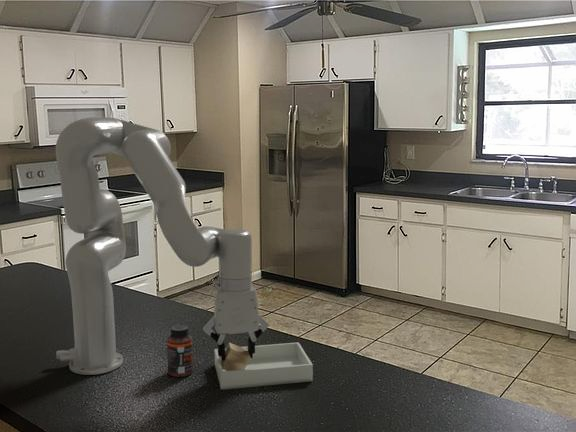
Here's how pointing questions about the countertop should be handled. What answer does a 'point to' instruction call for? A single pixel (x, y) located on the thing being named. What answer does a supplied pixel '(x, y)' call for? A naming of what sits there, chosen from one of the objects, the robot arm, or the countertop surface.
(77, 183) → the robot arm
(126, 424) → the countertop surface
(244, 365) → the maple cube
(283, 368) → the tray
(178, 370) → the supplement bottle
